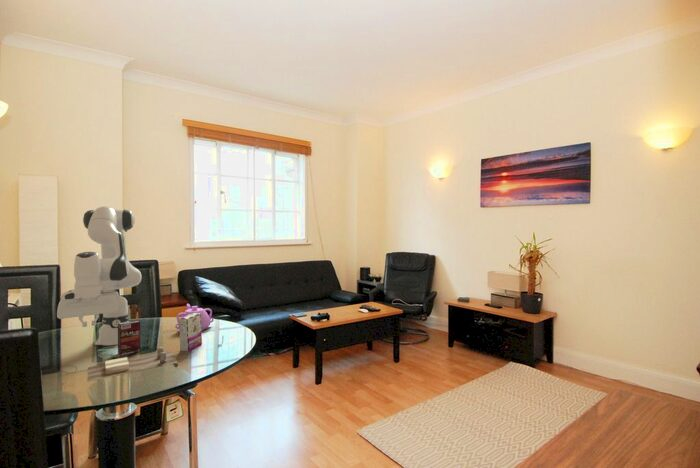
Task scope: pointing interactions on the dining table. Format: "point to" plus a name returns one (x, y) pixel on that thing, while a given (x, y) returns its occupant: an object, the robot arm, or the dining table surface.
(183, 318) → the candy bar box
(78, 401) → the dining table surface
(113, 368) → the birch plate
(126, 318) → the robot arm
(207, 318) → the teapot
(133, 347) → the supplement box
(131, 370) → the board
